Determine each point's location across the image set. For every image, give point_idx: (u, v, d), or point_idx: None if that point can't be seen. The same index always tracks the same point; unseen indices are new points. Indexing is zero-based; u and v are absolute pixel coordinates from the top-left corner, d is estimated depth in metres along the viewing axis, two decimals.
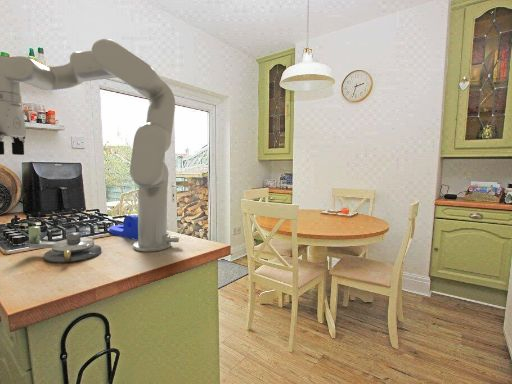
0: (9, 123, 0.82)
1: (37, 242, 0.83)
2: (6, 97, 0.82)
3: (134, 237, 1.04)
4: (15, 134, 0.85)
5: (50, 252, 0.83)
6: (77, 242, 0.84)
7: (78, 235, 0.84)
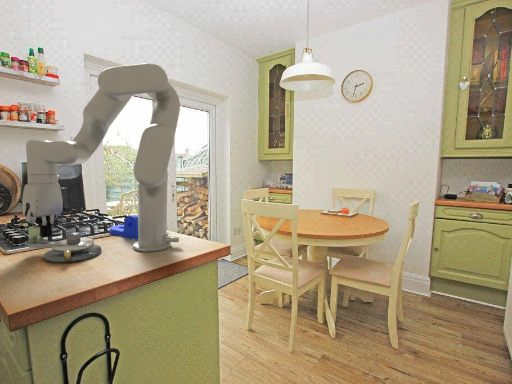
0: None
1: (37, 242, 0.83)
2: None
3: (135, 237, 1.03)
4: None
5: (50, 252, 0.83)
6: (77, 242, 0.84)
7: (78, 235, 0.84)
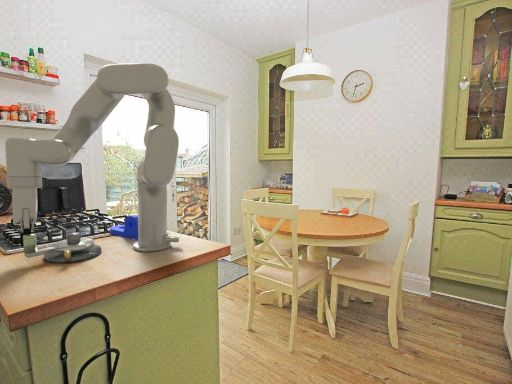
0: None
1: (36, 250, 0.76)
2: None
3: (135, 237, 1.03)
4: None
5: None
6: (80, 241, 0.86)
7: None
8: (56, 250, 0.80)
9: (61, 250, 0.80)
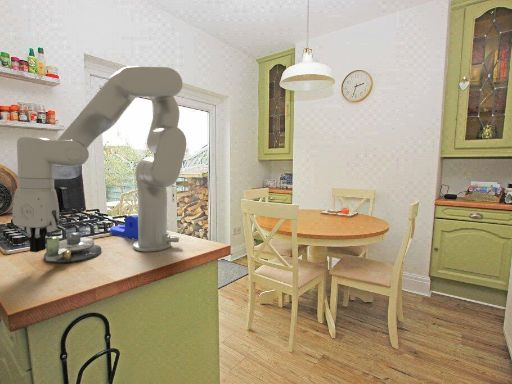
0: (15, 212, 0.71)
1: None
2: None
3: (135, 237, 1.03)
4: (24, 225, 0.71)
5: None
6: None
7: None
8: None
9: (76, 249, 0.81)
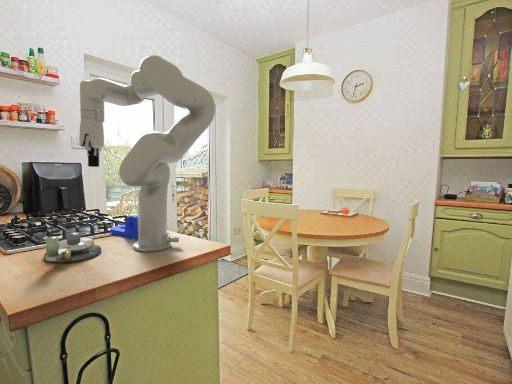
0: None
1: None
2: None
3: (136, 237, 1.03)
4: None
5: None
6: None
7: None
8: None
9: (76, 249, 0.81)
